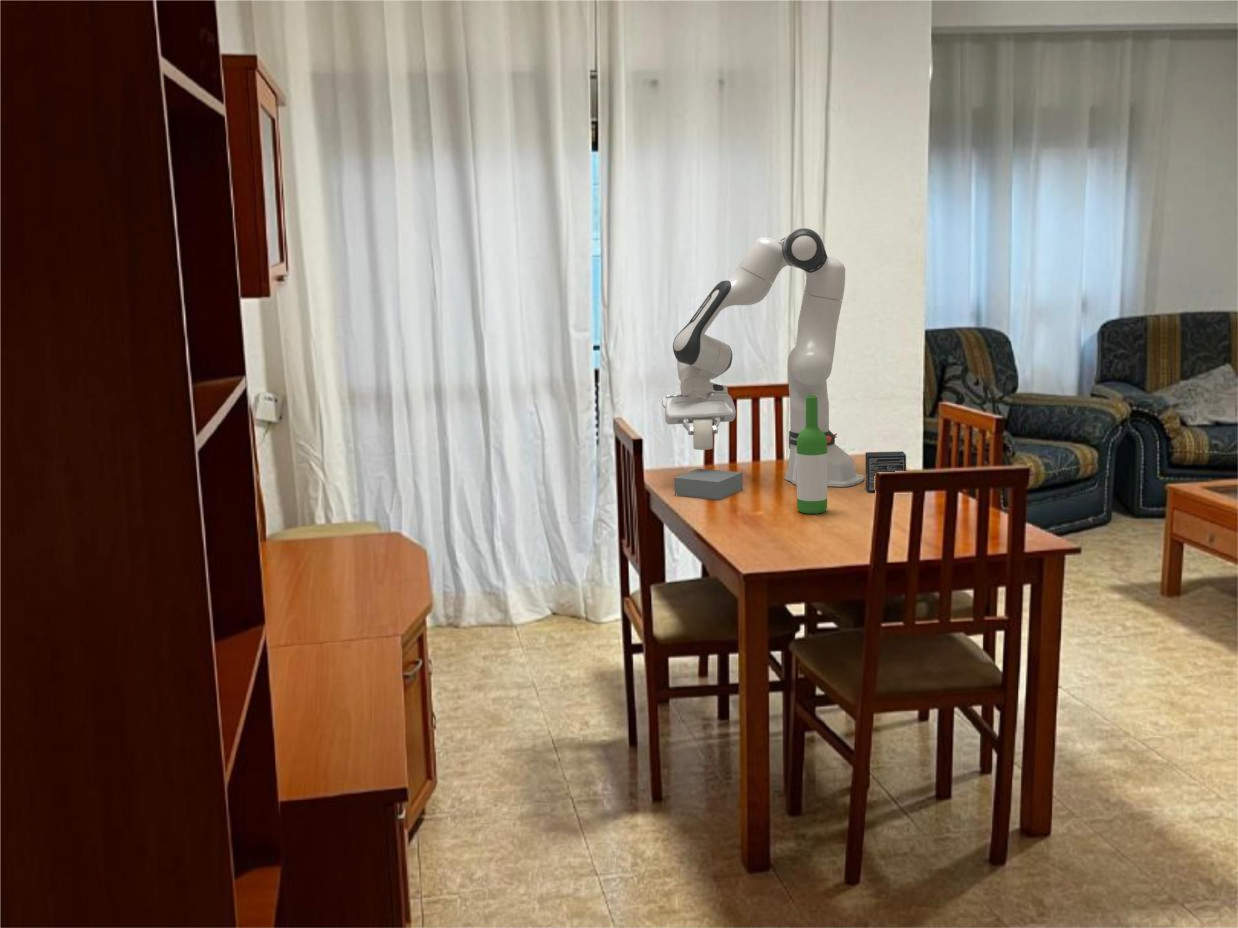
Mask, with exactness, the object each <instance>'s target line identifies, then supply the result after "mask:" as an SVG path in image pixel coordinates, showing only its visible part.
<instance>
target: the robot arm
mask: <svg viewBox="0 0 1238 928" xmlns="http://www.w3.org/2000/svg"><path fill="white" fill-rule="evenodd" d="M742 257H743V258H742V259H741V261H740V262H739V264H738V266H737V268H736V270H735V271H734V272H733V273H732V275H730V276H729V277H728V278H727V279H725V280H721V281H720V282H719V283H717V284H716V285H715V286H714V287H713V289H712V290H711V291H710V293H709V294H708V295H707V297H706V298H705V299H704V301H702V304H701V305H700V306H699V307H698V309H697V310H696V311H695V313H694V315H693V316H692V317H691V319H690V320H689V322H688V323H687V324H686V325H685V326H684V327H683V328H682V329H681V330H680V331H679V332H678V333H677V335H676V336H675V337H674V339H673V343H672V351H673V355H674V357H675V359H676V367H677V368H676V370H677V375H678V376H677V377H678V379H679V381H680V386H679V387H680V394H675V395H674V394H669V395H666V396H664V397H663V398H662V399H661V404H662V407H663V408H664V420H665V421H664V422H665V423H666V424H667V425H682V427H683V428H684V429H685V431H687V435H688V436H693V435H694V430H693V429H694V428H693V426H691V425H690V424H693V420H695V419H712V422H713V424H714V425H713V435H715V434H718V432H719V427H720V423H726V422H727V423H728V422H734V421H735V419H736V413H737V412H736V407H735V403H734V401H733V398H732V396H731V395H730V394H729V393H728V387H727V385H724V384H720V383H719V384H718V383H714V382H711V380H715V379H716V378H718V377H719V376H721V375H722V374H724V373H726V372H727V371H728V370H729V368H731V366H732V361H733V351H732V348H731V345H729V344H727V343H725V342H723V341H721V340H719V339H717V338H714V337H712V336H709V335H707V334H706V332H707V330H708V329H709V328H710V326H711V325H712V323H713V322H714V321H715V320H716V318H717V317H718V315H719V314H720V313H721V311H723V310H724V309H726V308H729V307H732V306H752V305H756V304H758V303H760V302H761V301H764V299H765V298H766V297H767V295H768V294H769V292H770V290H771V289H772V287H773V284H774V283H775V280H776V279H777V277H778V275H779V273H780V272H781V271H782V270H783V269H784V268H785V267H786V266H790V267H795V268H797V269H801V270H802V271H804V273H805V277H806V279H805V287H804V290H803V296H802V300H801V306H800V311H799V315H798V320H797V323H798V324H797V333H796V340H795V341H796V342H795V347H793V348H792V350H790V352H789V355H788V357H787V377H788V378H787V379H788V380H787V381H788V394H789V408H790V409H789V413H790V414H789V417H790V419H789V421H790V422H789V423H790V425H789V428H790V429H789V432H788V448H789V456H788V457H789V458H788V463H787V470H786V473H785V476H784V479H785V480H786V481H788V482H791V483H792V484H793V485H796V486H797V438H798V435H799V434H800V432H801V431H802V430H803V429H804V428H805V427H806V396H817V401H818V428H819V429H821V430H822V431H823V432H824V434H825V436H826V439H827V487H834V488H835V487H839V488H840V487H841V488H846V487H852V486H856V485H858V484H860V483H862V482H863V481H864V480H865V479H864V478H865V477H864V475H863V474H859V473H857V470H856V464H855V461H854V459H853V457H852V456H851V455H849V454H848V453H847V452H845V450H843V449H842V448H841V447H840V446H839V445H837V444H836V438H837V437H838V436H837V435H838V433H833V432H832V431H831V430H830V403H829V394H828V383H827V382H828V381H827V380H829V379H828V378H830V376H831V374H832V369H833V362H834V356H835V348H836V339H837V338H836V337H837V329H838V323H839V319H840V313H841V309H842V304H843V300H844V294H845V287H846V267H845V265H844V264H843V263H842V261H840V260H839V259H837V258H834V257H831V256H828V255H827V252H826V247H825V245H824V242H823V239H822V238H821V236H820V235H819V234H818V233H817V232H816V231H815V230H813V229H811V228H807V227H801V228H797V229H794V230H793V231H791V232H790V233H789V234H788V235H787V236H785V237H784V238H782V239H780V240H777V239H775V238H773V237H769V236H761V237H758V238H757V239H756V240H755V241H754V242H753V243H752V244H751V245H750V247H749V249H748V250H747V251H746V253H745V254H744V256H742Z"/></svg>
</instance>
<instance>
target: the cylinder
mask: <svg viewBox="0 0 1238 928" xmlns="http://www.w3.org/2000/svg"><path fill="white" fill-rule="evenodd" d="M713 424H714V422H712V419H695V420H693V423H692V427H693V428H694V429H693V430H694V435H692V436H693V437H692V439H693V445H692V446H693V450H698V451H699V450H700V451H707V450H712V449H713V448H714V441H713V438H714V434H713V426H714V425H713Z"/></svg>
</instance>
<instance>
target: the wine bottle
mask: <svg viewBox="0 0 1238 928" xmlns="http://www.w3.org/2000/svg"><path fill="white" fill-rule="evenodd" d="M796 508H797V511H799V512H800V513H802V514H808V515H816V514H822V513H825V512H826V511H827V510H828V486H827V439H826V436H825V434H824V432H823V431H822V430H821V429H819V428H818V401H817V396H806V427H805V428H804V429H803V430H802V431H801V432H800V434H799V435H798V438H797V485H796Z"/></svg>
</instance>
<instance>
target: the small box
mask: <svg viewBox="0 0 1238 928" xmlns="http://www.w3.org/2000/svg"><path fill="white" fill-rule="evenodd" d="M895 471H906V472H907V454H906V453H905V452H904V451H902V450H901V451H868V452H865V490H866V492H867V493H868V494H872V493H873V494H874V493H875V490H874V476H875V473H877V472H895ZM875 494H876V493H875Z"/></svg>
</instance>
